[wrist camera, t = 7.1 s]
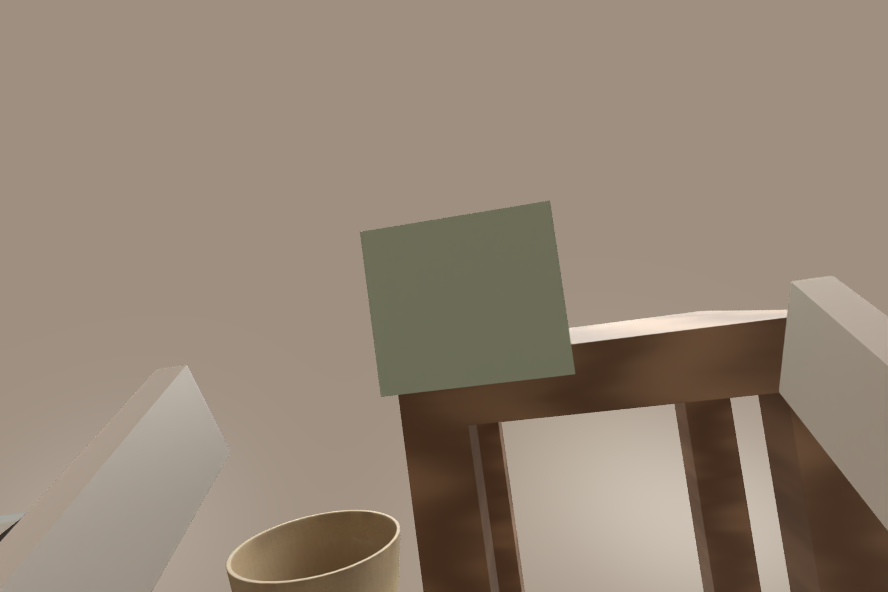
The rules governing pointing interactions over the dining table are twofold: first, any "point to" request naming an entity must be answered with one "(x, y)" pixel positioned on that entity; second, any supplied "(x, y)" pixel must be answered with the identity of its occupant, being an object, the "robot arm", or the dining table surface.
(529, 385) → the walnut stool
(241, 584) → the plant pot
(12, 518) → the dining table surface
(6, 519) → the dining table surface
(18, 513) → the dining table surface
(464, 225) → the green block
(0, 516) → the dining table surface
